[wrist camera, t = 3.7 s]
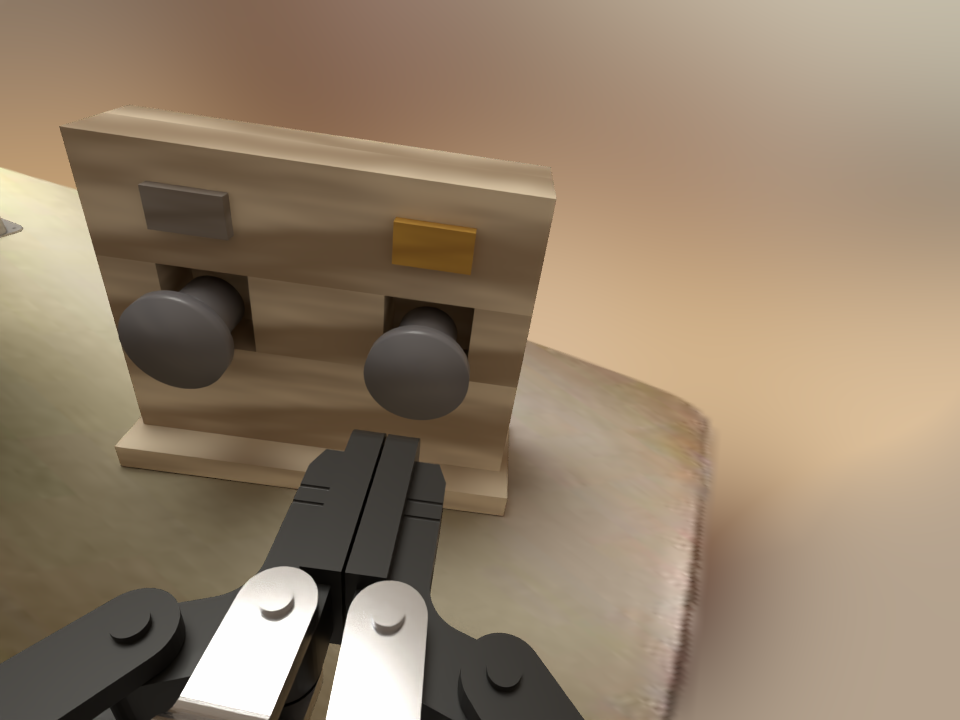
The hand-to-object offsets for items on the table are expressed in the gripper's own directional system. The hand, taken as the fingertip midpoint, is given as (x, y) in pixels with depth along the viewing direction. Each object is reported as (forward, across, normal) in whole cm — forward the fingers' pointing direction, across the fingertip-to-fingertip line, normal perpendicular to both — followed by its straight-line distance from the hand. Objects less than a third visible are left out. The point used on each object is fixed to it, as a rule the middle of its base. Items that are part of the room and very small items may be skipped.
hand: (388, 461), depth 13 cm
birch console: (+17, -6, -16) cm, 24 cm away
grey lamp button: (+13, -12, -8) cm, 20 cm away
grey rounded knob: (+13, -1, -8) cm, 16 cm away
